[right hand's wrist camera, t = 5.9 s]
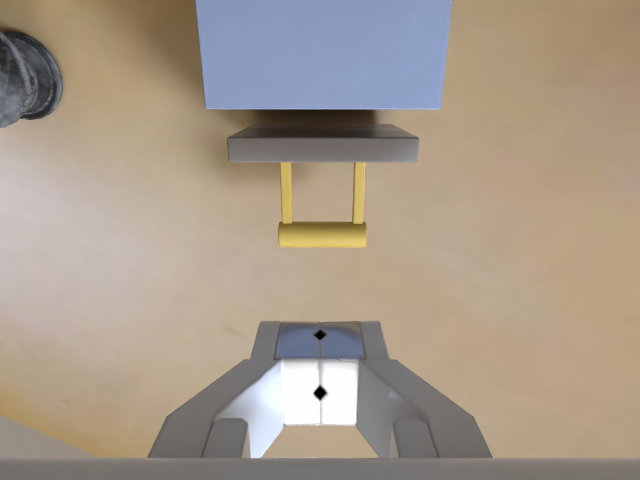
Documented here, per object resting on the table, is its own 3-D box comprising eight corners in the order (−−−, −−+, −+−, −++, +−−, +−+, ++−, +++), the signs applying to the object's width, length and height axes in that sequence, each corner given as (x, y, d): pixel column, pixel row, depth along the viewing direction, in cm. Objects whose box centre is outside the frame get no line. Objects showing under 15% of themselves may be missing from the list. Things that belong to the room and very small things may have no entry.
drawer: (386, 224, 28) (408, 269, 21) (258, 224, 28) (237, 269, 21) (415, -244, 20) (468, -433, 13) (231, -243, 20) (180, -431, 13)
